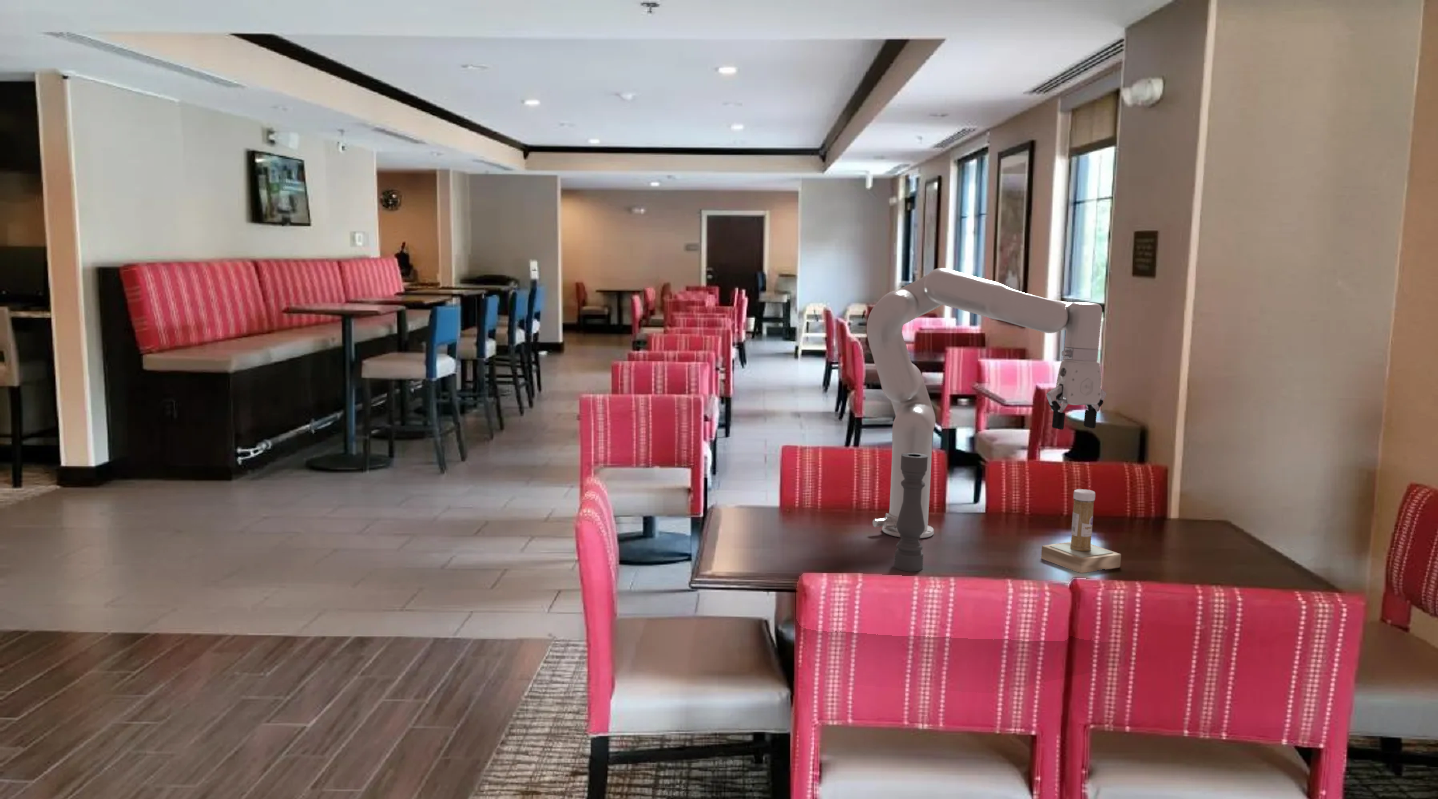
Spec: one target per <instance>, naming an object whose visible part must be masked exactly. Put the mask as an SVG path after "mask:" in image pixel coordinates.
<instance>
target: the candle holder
mask: <svg viewBox="0 0 1438 799" xmlns="http://www.w3.org/2000/svg"><path fill="white" fill-rule="evenodd" d="M927 461H928V456H927V455H925V454H919V453H903V454H901V470H902V474H903V477H904V480H903V481H901V485H902V486H903V488H904V493H903V503H902V506H901V510H900V513H899V517H898V520H897V530H898V532H899V534H900V537H899V538H900V539H899V540H898V542H896V549H895V551H894V564H893V565H894V568H895V569H897V570H899V571H902V572H903V571H905V572H920V571H921V570H923V569H924V566H923V565H924V552H923V551H922V550H923V549H924V548H923V545H922V544H921V542H920V539H921V538H920V535H921V534H922V533H923V532H924V529H925V524H924V518H923V512H922V507H921V491H922V489H923V487H925V483H924V482H923V481H922V479H923V477H924V475H925V472H926V471H927Z"/></svg>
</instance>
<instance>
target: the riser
mask: <svg viewBox="0 0 1438 799" xmlns="http://www.w3.org/2000/svg"><path fill="white" fill-rule="evenodd" d="M1070 545H1071V541H1067V542H1061V543H1059V542H1058V543H1052V544H1044V545H1041V552H1040V553H1041V554H1040V555H1041V556H1040V559H1041V560H1044V561H1047V562H1049V563H1052V564H1055V565H1058V566H1061V567H1063V568H1066V569H1068V570H1071V571H1074V572H1077V573H1079V574H1084V573H1091V572H1096V571H1097V570H1099V571H1103V570H1102V569H1105V570H1112V569H1118V568H1121V560H1122V554H1121V553H1118V552H1116V551H1112V550H1110V549H1107V548H1105V547H1100V546H1098V545H1094V544H1092V543H1091V550H1089V551H1077V550H1074V549H1072V548H1071V547H1070ZM1100 569H1101V570H1100ZM1097 572H1098V571H1097Z"/></svg>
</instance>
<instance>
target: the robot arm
mask: <svg viewBox="0 0 1438 799" xmlns="http://www.w3.org/2000/svg"><path fill="white" fill-rule="evenodd" d="M941 306H945V307H949V308H953V309H956V310H960V311H964V312H968V313H971V314H975V315H978V316H981V317H985V318H989V319H992V320H998V321H1002V322H1005V323H1006V322H1007V323H1009V324H1013V325H1016V326H1020V327H1024V328H1027V329H1031V330H1034V331H1039V332H1040V333H1045V334H1054V333H1058V332H1060V331H1065V337H1064V350H1062V351H1061V356H1062V357H1063V358H1062V359H1063V360H1061V363H1060V366H1059V369H1058V373H1057V379H1056V385H1055V387H1054V388H1052V389H1051V390H1049V391H1047V392H1046V398H1047V400H1048V402H1047V404H1048V406H1050V409H1051V411H1052V412H1053V413H1052V422H1051V427H1052V429H1057V430H1062V431H1063V430H1064V428H1065V419H1066V418H1065V417H1066V413H1065V412H1064V411H1065V409H1066V408H1067V407H1068V405H1071V406H1085V408H1087V409H1085V410H1084V416H1083V417H1084V420H1083V426H1084V427H1085V428H1089V429H1095V428H1096V427H1097V426H1096V424H1097V417H1098V416H1097V414H1098V412H1099V411H1100V408H1101V407H1102V405H1104V401H1105V399H1106V397H1107V392H1106V391H1104V389H1103V388H1102V374H1101V373H1102V370H1101V364H1100V362H1099V361H1098V358H1099V348H1100V347H1099V346H1100V338H1101V337H1100V335H1101V329H1102V328H1101V326H1102V319H1103V318H1102V317H1103V316H1102V315H1103V308H1102V306H1101V305H1100V304H1099V303H1096V302H1088V301H1085V302H1084V301H1075V302H1069V301H1068V302H1067V301H1062V300H1058V299H1057V300H1056V299H1052V298H1051V299H1050V298H1045V297H1041V296H1038V295H1033V294H1031V293H1025V292H1022V291H1019V290H1016V289H1013V288H1011V287H1008V286H1006V285H1005V284H1002V283H1000V282H997V281H994V280H990V279H985V278H984V277H983V278H982V277H977V276H974V275H971V274H967V273H963V272H961V271H957V270H953V269H950V268H946V267H938V268H935V269H932V270H931V271H930V272H929V273H928V274H926V275H925V276H922V277H921V278H918V279H917V280H915V281H913V282H911V283H909V284H907V285H905V286H903V287H900V288H899V289H895V290H891V291H889V292H888V293H886V294H884V295H883V296H882V297H881V298H880V299H879V300H877V302H876V303H875V305H874V306H873V307H872V309H871V311H870V313H869V314H868V319H867V321H866V337H867V341H868V345H869V349H870V351H871V355H872V359H873V362H874V365H875V369H876V372H877V376H878V378H879V382H880V386H881V390H882V392H883V394H884V396H885V397H886V398H887V399H889V400H890V404H891V405H892V406H891V407H892V408H893V411H894V412H893V413H894V414H895V417H894V420H893V422H892V423H893V424H892V429H891V430H892V431H891V434H892V435H891V436H892V437H891V449H892V450H891V474H890V494H889V512H888V513H887V512H886V513H885V516H884V517H882V518H874V519H873V520H872V526H873V527H874V528H880V527H881V528H882V529H881V530H882V532H883V533H884V534H886V535H889V536H893V537H896V538H897V537H898V538H900V534H899V532H898V530H897V520H898V517H899V513H900V510H901V506H902V503H903V493H904V488H903V486H902V485H901V481H903V480H904V477H903V474H902V470H901V454H903V453H919V454H925V455H927V456H928V461H927V471H926V472H925V475H924V477H923V479H922V481H923V482H924V483H925V487H923V489H922V491H921V507H922V512H923V518H924V524H925V529H924V532H923V533H922V534H921V535H920V539H925V538H930V537H932V536H934V534H935V529H934V528H933V527H932V526H931V525H928V524H929V511H930V510H929V507H930V494H931V493H930V491H931V477H932V476H931V473H932V472H931V470H932V450H933V449H932V448H933V436H934V435H933V434H934V430H935V427H936V414H935V410H934V407H933V405H932V401H931V398H930V395H929V392H928V390H927V389H928V388H927V386H926V383H925V381H924V377H923V374H922V373H921V370H920V369H919V368H918V367H917V365H915V364H914V363H912V360H911V357H910V354H909V351H908V348H907V344H906V341H905V339H904V335H903V327H904V326H905V324H907V323H909V322H912V321H913V320H915V319H917V318H919V317H921V316H924V315H925V314H927V313H930V312H931V311H933V310H936V309H937V308H939V307H941Z"/></svg>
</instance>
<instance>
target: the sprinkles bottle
mask: <svg viewBox="0 0 1438 799" xmlns="http://www.w3.org/2000/svg"><path fill="white" fill-rule="evenodd" d="M1095 500H1096V492H1095V490H1090V489H1085V488H1084V489H1082V488H1077V489H1074V491H1073V509H1072V510H1073V511H1072V519H1071V521H1072V522H1071V539H1070V542H1071V545H1070V547H1071V548H1072V549H1074V550H1077V551H1089V550H1091V544H1092V543H1091V542H1092V535H1093V521H1094V503H1095Z"/></svg>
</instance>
